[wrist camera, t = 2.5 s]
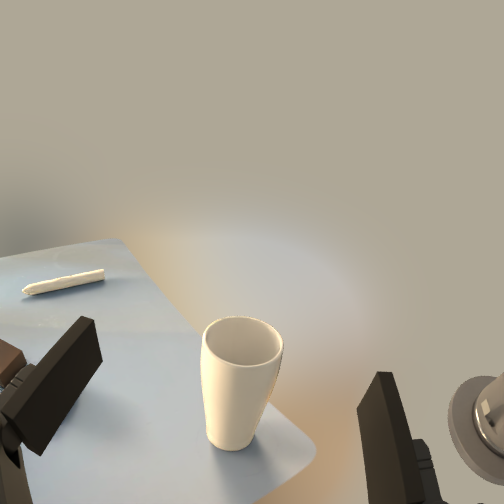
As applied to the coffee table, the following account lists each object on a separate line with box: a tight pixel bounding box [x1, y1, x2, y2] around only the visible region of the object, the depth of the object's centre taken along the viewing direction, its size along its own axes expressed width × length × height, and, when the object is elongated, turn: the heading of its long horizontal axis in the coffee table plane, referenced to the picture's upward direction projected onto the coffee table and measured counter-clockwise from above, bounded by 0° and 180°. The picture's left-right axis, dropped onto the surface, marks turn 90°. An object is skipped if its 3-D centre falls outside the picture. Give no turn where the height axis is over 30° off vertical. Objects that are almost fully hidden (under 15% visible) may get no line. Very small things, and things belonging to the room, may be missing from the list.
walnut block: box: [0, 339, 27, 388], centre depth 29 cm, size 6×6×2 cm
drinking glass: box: [201, 316, 284, 451], centre depth 27 cm, size 7×7×15 cm
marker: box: [22, 269, 105, 295], centre depth 50 cm, size 18×2×2 cm, turn 130°
